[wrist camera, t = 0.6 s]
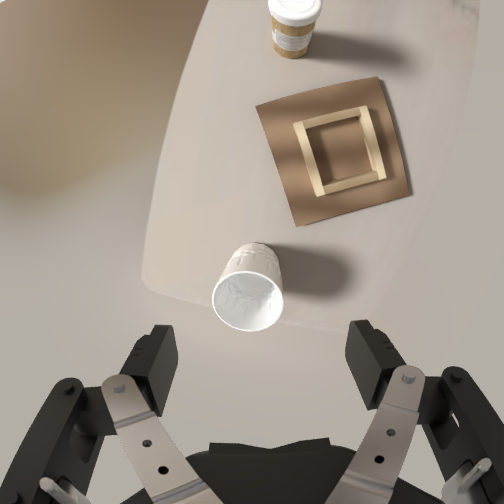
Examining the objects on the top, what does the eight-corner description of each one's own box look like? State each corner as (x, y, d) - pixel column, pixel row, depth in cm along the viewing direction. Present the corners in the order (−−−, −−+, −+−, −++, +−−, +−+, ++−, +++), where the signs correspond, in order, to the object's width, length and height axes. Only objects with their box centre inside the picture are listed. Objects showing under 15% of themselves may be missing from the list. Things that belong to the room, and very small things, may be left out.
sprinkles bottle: (281, 24, 27) (281, -27, 15) (314, 38, 27) (331, -8, 15) (266, 51, 29) (258, 7, 16) (299, 65, 29) (310, 27, 17)
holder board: (256, 107, 32) (253, 104, 29) (374, 78, 29) (382, 73, 26) (295, 224, 37) (296, 232, 34) (405, 193, 34) (415, 198, 31)
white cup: (216, 254, 40) (198, 289, 31) (265, 228, 38) (261, 258, 29) (245, 297, 42) (236, 340, 33) (293, 275, 40) (296, 316, 31)
